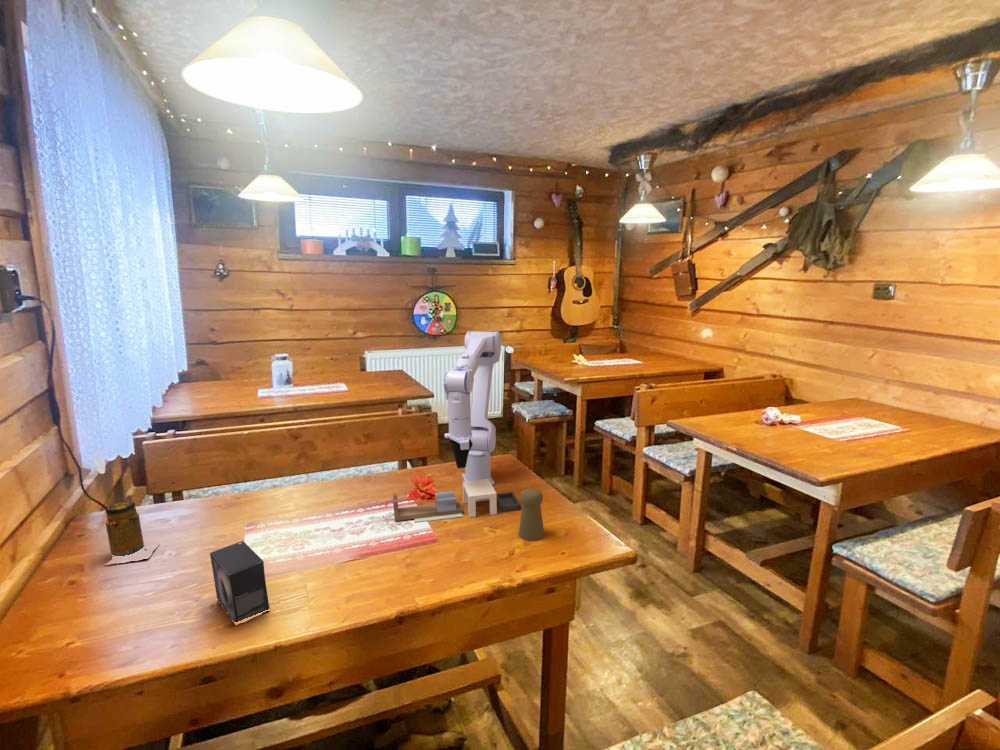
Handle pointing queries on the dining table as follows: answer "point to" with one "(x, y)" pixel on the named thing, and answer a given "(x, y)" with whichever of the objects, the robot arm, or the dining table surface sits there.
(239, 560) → the small box
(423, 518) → the mat
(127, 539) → the condiment
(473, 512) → the tunnel
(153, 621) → the dining table surface
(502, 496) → the dark grey tray
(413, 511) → the brown t-shaped bar
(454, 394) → the robot arm
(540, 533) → the olive brown pawn
